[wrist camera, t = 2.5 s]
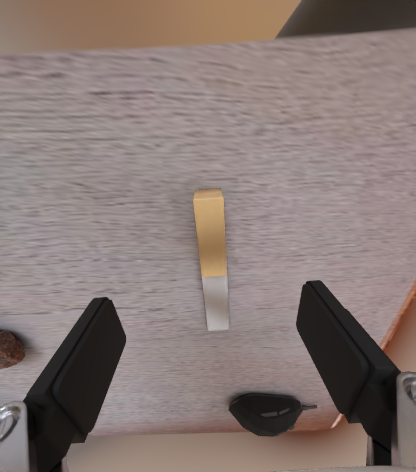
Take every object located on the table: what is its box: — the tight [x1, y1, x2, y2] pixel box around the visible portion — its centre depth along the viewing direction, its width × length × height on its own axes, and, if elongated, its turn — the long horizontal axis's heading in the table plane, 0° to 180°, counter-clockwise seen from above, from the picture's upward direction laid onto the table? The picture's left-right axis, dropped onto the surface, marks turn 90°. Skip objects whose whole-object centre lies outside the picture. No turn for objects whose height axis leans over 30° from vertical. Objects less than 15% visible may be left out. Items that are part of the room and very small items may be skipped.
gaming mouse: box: [229, 394, 317, 436], centre depth 31 cm, size 6×15×4 cm, turn 83°
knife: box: [193, 188, 229, 331], centre depth 19 cm, size 17×3×3 cm, turn 4°
